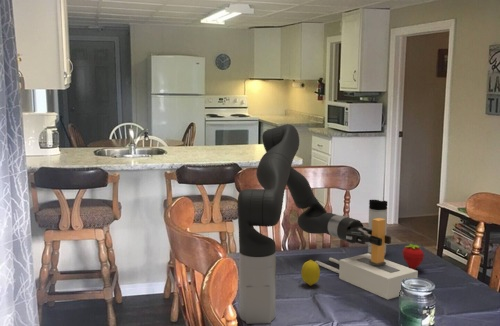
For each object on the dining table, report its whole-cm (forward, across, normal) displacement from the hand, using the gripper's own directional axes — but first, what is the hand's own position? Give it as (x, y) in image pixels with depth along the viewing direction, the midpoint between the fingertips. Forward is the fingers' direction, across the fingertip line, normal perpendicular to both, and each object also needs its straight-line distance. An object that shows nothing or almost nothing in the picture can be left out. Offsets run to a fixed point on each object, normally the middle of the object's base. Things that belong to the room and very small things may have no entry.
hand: (385, 241), depth 156 cm
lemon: (-13, -17, +14) cm, 26 cm away
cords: (-21, 0, +14) cm, 25 cm away
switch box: (-3, 0, +14) cm, 14 cm away
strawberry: (-6, +19, +14) cm, 24 cm away
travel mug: (-24, +21, +14) cm, 35 cm away
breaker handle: (-3, 0, +7) cm, 8 cm away
